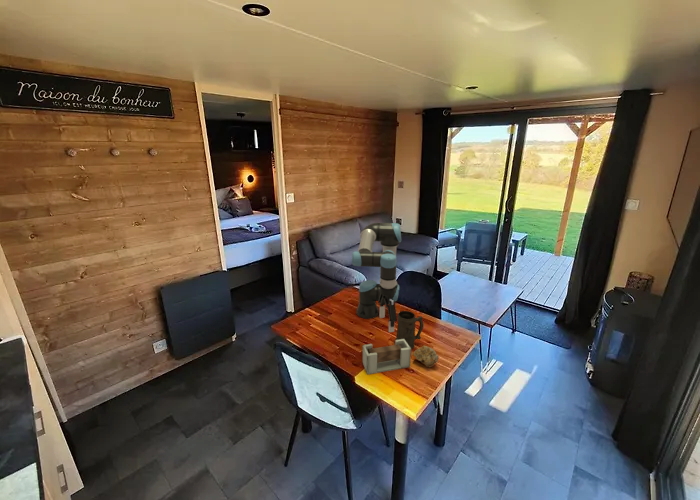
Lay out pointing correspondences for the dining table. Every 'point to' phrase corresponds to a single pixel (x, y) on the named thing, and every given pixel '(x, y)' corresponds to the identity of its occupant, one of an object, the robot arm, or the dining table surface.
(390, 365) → the post bracket
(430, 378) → the dining table surface
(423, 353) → the rock
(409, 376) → the dining table surface
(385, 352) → the rail
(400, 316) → the beer stein
